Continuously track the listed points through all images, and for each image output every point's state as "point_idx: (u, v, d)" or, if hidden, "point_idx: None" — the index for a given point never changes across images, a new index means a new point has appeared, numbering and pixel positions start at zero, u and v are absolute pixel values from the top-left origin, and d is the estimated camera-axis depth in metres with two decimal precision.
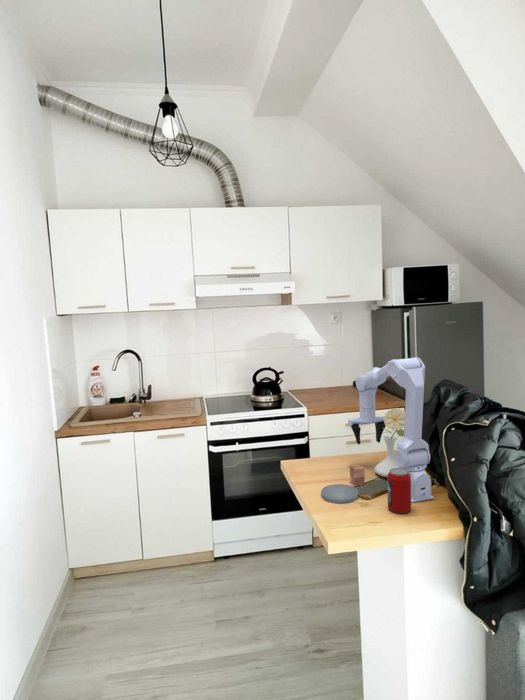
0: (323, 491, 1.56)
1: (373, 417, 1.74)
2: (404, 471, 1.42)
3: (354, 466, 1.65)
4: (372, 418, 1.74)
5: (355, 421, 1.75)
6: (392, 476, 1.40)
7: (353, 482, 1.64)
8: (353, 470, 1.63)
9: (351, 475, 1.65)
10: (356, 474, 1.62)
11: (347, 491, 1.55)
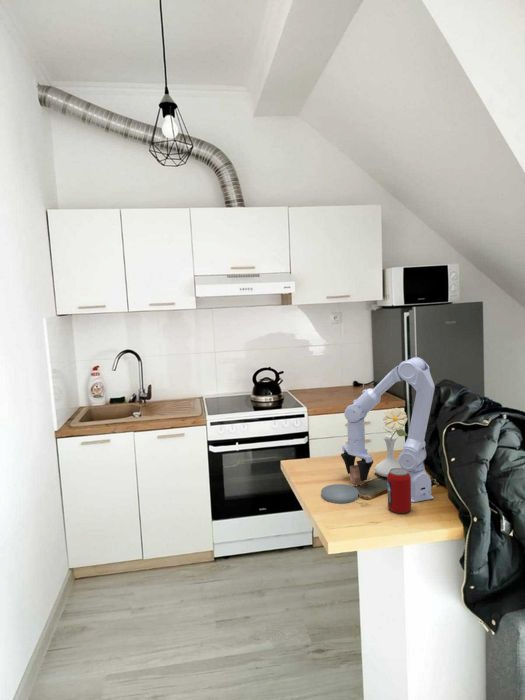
0: (323, 491, 1.56)
1: (352, 450, 1.61)
2: (404, 471, 1.42)
3: (354, 466, 1.65)
4: (351, 451, 1.62)
5: (344, 448, 1.68)
6: (392, 476, 1.40)
7: (353, 482, 1.64)
8: (353, 470, 1.63)
9: (351, 475, 1.65)
10: (356, 474, 1.62)
11: (347, 491, 1.55)
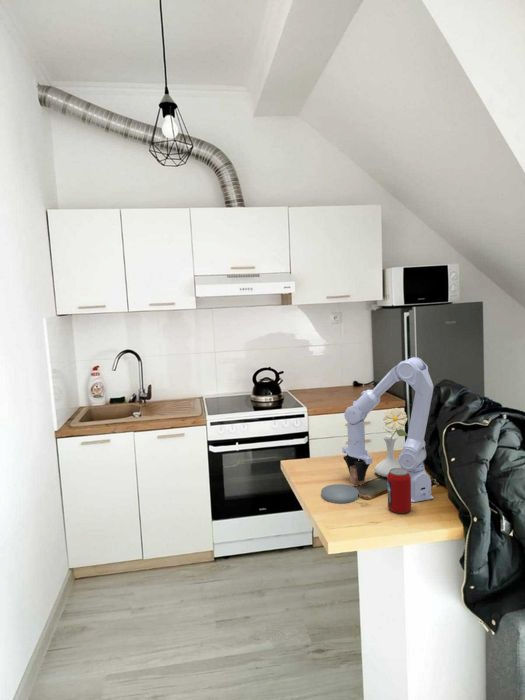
0: (323, 491, 1.56)
1: (352, 452, 1.61)
2: (404, 471, 1.42)
3: (354, 466, 1.65)
4: (351, 452, 1.62)
5: (344, 450, 1.68)
6: (392, 476, 1.40)
7: (353, 482, 1.64)
8: (353, 470, 1.63)
9: (351, 475, 1.65)
10: (356, 474, 1.62)
11: (347, 491, 1.55)
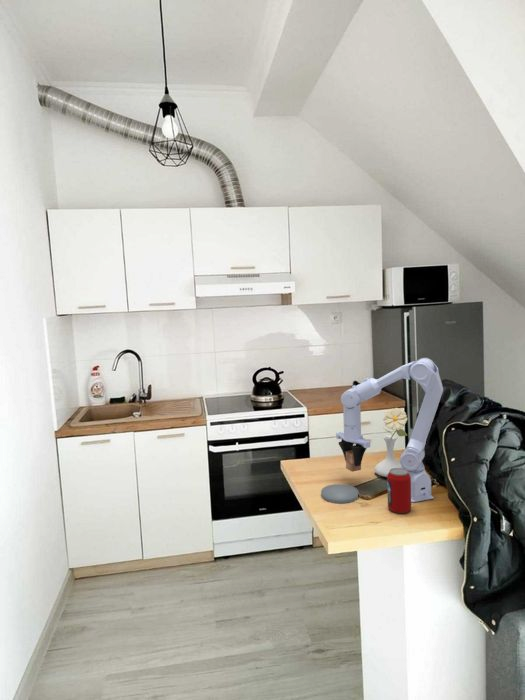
0: (323, 491, 1.56)
1: (349, 436, 1.59)
2: (404, 471, 1.42)
3: (350, 451, 1.62)
4: (348, 437, 1.59)
5: (339, 435, 1.65)
6: (392, 476, 1.40)
7: (349, 467, 1.61)
8: (349, 455, 1.60)
9: (347, 460, 1.62)
10: (352, 459, 1.60)
11: (347, 491, 1.55)
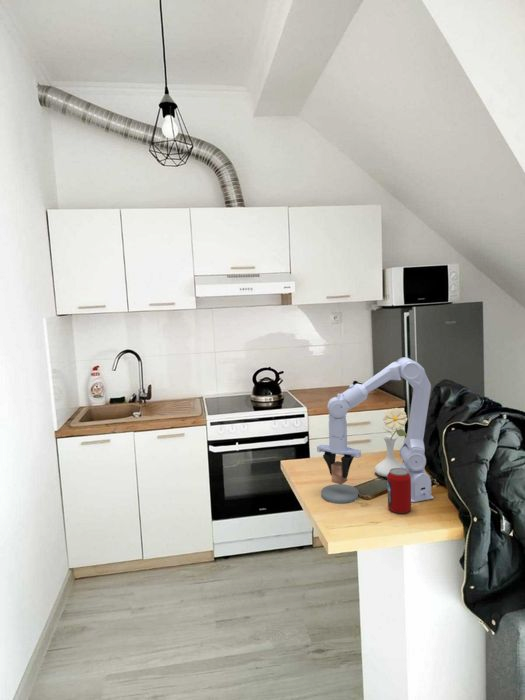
0: (323, 491, 1.56)
1: (338, 448, 1.51)
2: (404, 471, 1.42)
3: (336, 463, 1.54)
4: (337, 449, 1.51)
5: (321, 448, 1.56)
6: (392, 476, 1.40)
7: (338, 480, 1.53)
8: (337, 468, 1.53)
9: (334, 474, 1.54)
10: (341, 471, 1.52)
11: (347, 491, 1.55)
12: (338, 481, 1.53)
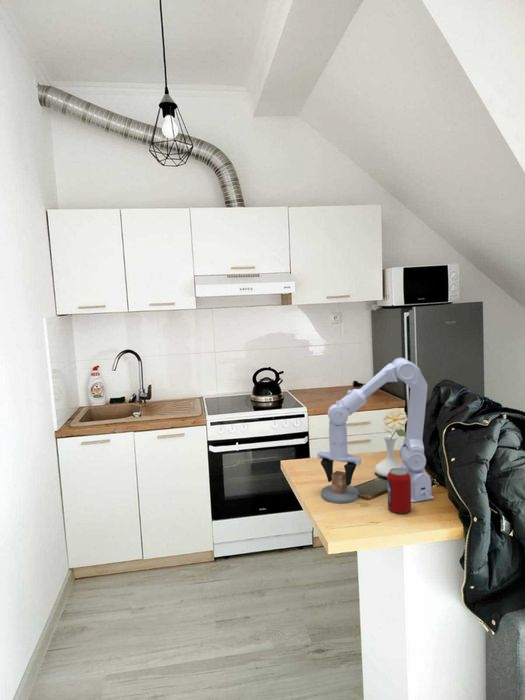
0: (323, 491, 1.56)
1: (339, 455, 1.51)
2: (404, 471, 1.42)
3: (336, 473, 1.55)
4: (337, 456, 1.51)
5: (322, 455, 1.56)
6: (392, 476, 1.40)
7: (338, 490, 1.53)
8: (337, 478, 1.53)
9: (334, 483, 1.54)
10: (342, 481, 1.53)
11: (347, 491, 1.55)
12: (338, 491, 1.53)
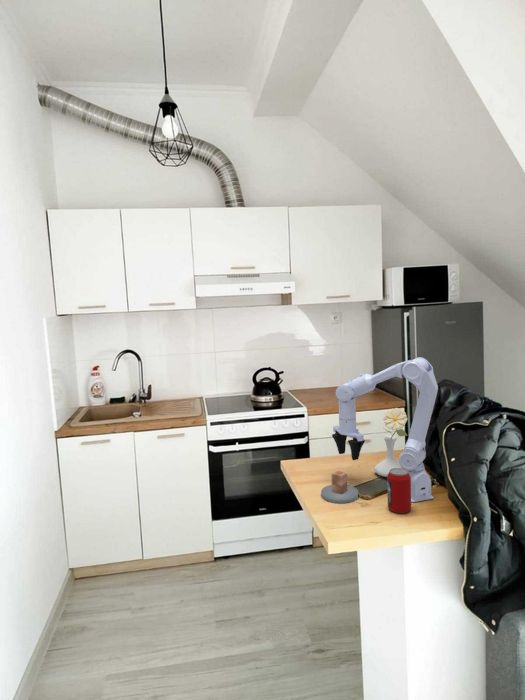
0: (323, 491, 1.56)
1: (344, 430, 1.61)
2: (404, 471, 1.42)
3: (336, 473, 1.55)
4: (342, 430, 1.62)
5: (335, 429, 1.68)
6: (392, 476, 1.40)
7: (338, 490, 1.53)
8: (337, 478, 1.53)
9: (334, 483, 1.54)
10: (342, 481, 1.53)
11: (347, 491, 1.55)
12: (338, 491, 1.53)
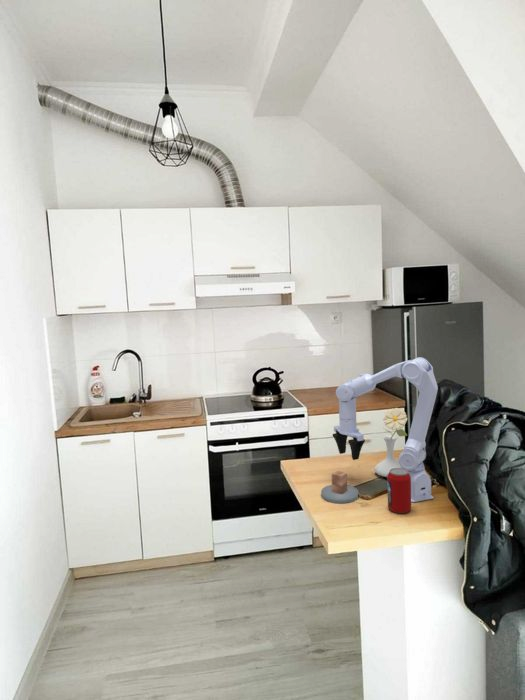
0: (323, 491, 1.56)
1: (344, 429, 1.62)
2: (404, 471, 1.42)
3: (336, 473, 1.55)
4: (343, 430, 1.62)
5: (336, 428, 1.68)
6: (392, 476, 1.40)
7: (338, 490, 1.53)
8: (337, 478, 1.53)
9: (334, 483, 1.54)
10: (342, 481, 1.53)
11: (347, 491, 1.55)
12: (338, 491, 1.53)
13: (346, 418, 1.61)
